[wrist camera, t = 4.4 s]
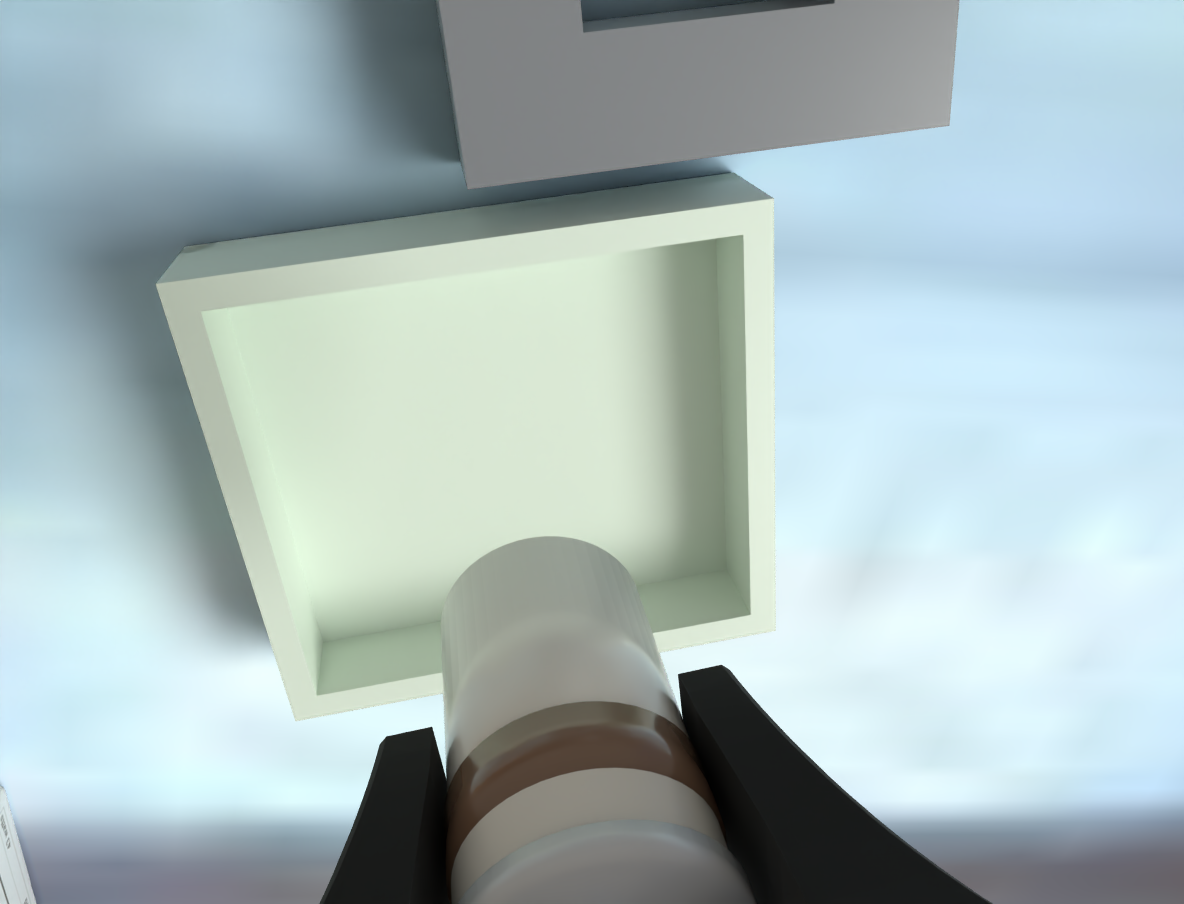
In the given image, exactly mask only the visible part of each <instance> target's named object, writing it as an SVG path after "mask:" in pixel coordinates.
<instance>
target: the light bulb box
mask: <svg viewBox="0 0 1184 904" xmlns="http://www.w3.org/2000/svg"><path fill="white" fill-rule="evenodd" d="M0 904H36V901H35V897H34V894H33V891H32V888H31V883H30V878H29V875H28V871H27V867H26V864H25V860H24V857H23V853H22V850H21V846H20V842H19V839H18V835H17V832H16V828H15V824H14V821H13V817H12V813H11V810H10V806H9V802H8V799H7V795H6V792H5V790H4V788H3V787H2V786H0Z"/></svg>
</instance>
